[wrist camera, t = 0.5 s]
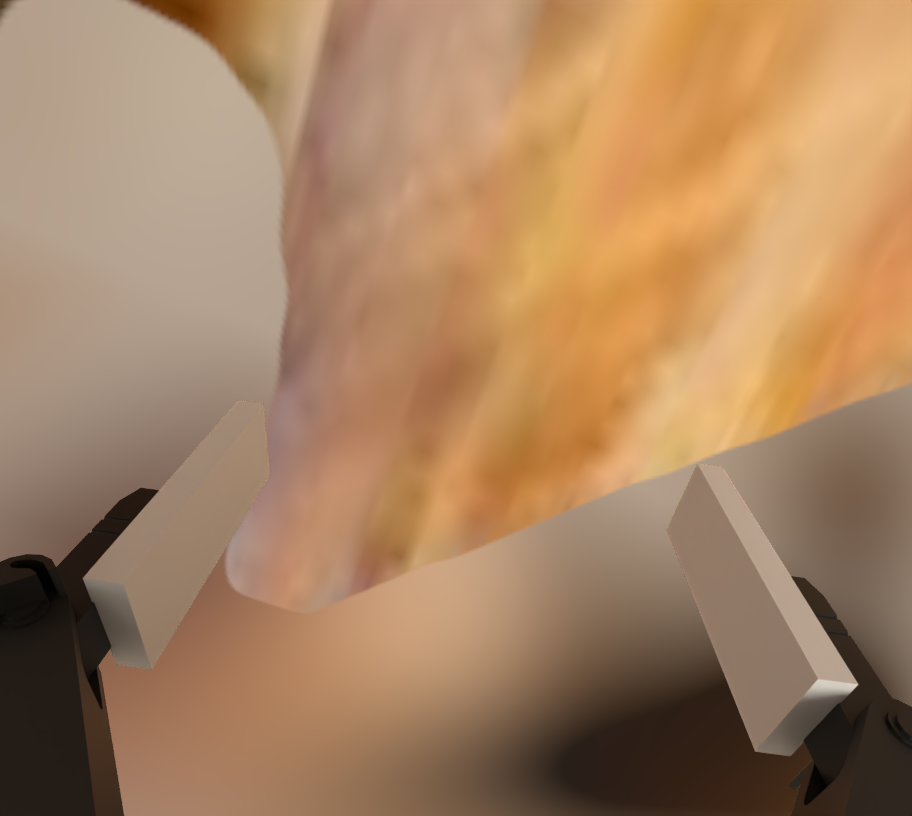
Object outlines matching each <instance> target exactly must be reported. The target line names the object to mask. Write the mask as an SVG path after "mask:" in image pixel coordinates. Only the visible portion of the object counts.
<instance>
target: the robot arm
mask: <svg viewBox="0 0 912 816" xmlns="http://www.w3.org/2000/svg"><path fill="white" fill-rule="evenodd" d="M269 476H270V469H269V458H268V447H267V436H266V425H265V414H264V404H263V403H257V402H249V401H243V400H238V401H237V402H236V403H235V404H234V405H233V406H232V407H231V409H230V410H229V411H228V412H227V413H226V414H225V415H224V417H223V418H222V419H221V420H220V421H219V422H218V424H217V425H216V426H215V427H214V428H213V429H212V431H211V432H210V433H209V434H208V435H207V436H206V437H205V438H204V440H203V441H202V442H201V443H200V444H199V445H198V447H197V448H196V449H195V450H194V451H193V452H192V453H191V454H190V456H189V457H188V458H187V459H186V460H185V461H184V463H183V464H182V465H181V466H180V467H179V468H178V469H177V471H176V472H175V473H174V474H173V475H172V477H171V478H170V479H169V480H168V481H167V482H166V483H165V484H164V486H163V487H162V488H161V489H160V490H153V489H145V488H140V489H138V490H137V491H135V492H133V493H131V494H130V495H128V496H126V497H125V498H123V499H121V500H120V501H119V502H118V503H117V504H116V505H115V506H114V507H113V508H112V509H111V510H110V511H109V512H108V513H107V514H106V515H105V518H104V520H101V521H100V522H99V523H98V524H97V525H96V526H95V527H94V528H93V529H92V532H91V533H88V534H87V535H86V536H85V538H84V539H83V540H82V541H81V542H80V543H79V544H78V545H77V546H76V547H75V548H74V549H73V550H72V551H71V552H70V553H69V555H68V556H67V557H66V558H65V559H64V560H63V561H62V562H61V563H60V564H59V565H58V566H57V567H56V566H55V565H54V563H53V561H52V559H50V558H47V557H45V556H43V555H30V554H26V555H21V556H16V557H11V558H9V559H6V560H4V561H1V562H0V816H124V813H123V806H122V800H121V794H120V788H119V782H118V775H117V769H116V763H115V757H114V750H113V744H112V739H111V732H110V726H109V719H108V713H107V707H106V701H105V695H104V688H103V682H102V676H101V672H100V669H99V667H98V665H99V664H100V662H101V661H102V659H103V658H104V657H105V655H106V654H107V652H108V651H109V650H110V649H111V651H112V654H113V657H114V659H115V662H116V664H118V665H125V666H132V667H139V668H148V669H152V668H153V667H154V665H155V663H156V662H157V660H158V658H159V657H160V655H161V654H162V652H163V650H164V649H165V647H166V645H167V644H168V642H169V640H170V639H171V637H172V635H173V634H174V632H175V630H176V629H177V627H178V626H179V624H180V622H181V620H182V619H183V617H184V616H185V614H186V612H187V611H188V609H189V607H190V606H191V604H192V602H193V601H194V599H195V597H196V596H197V594H198V593H199V591H200V589H201V587H202V586H203V584H204V582H205V581H206V579H207V578H208V576H209V575H210V573H211V571H212V570H213V568H214V566H215V565H216V563H217V561H218V560H219V558H220V557H221V555H222V553H223V552H224V550H225V548H226V547H227V545H228V543H229V542H230V540H231V538H232V537H233V535H234V534H235V532H236V530H237V529H238V527H239V525H240V524H241V522H242V520H243V519H244V517H245V515H246V514H247V512H248V511H249V509H250V507H251V506H252V504H253V502H254V501H255V499H256V497H257V496H258V494H259V492H260V491H261V489H262V488H263V486H264V484H265V483H266V481H267V479H268V478H269ZM667 532H668V535H669V537H670V540H671V542H672V545H673V547H674V550H675V552H676V555H677V557H678V560H679V562H680V565H681V567H682V570H683V572H684V575H685V577H686V580H687V582H688V584H689V587H690V590H691V592H692V595H693V597H694V599H695V602H696V605H697V607H698V610H699V612H700V615H701V617H702V619H703V622H704V624H705V627H706V630H707V632H708V635H709V637H710V640H711V642H712V644H713V647H714V650H715V652H716V655H717V657H718V660H719V662H720V665H721V667H722V670H723V672H724V675H725V677H726V680H727V682H728V685H729V687H730V690H731V692H732V694H733V697H734V699H735V702H736V704H737V707H738V709H739V712H740V714H741V717H742V719H743V722H744V724H745V727H746V729H747V732H748V734H749V737H750V739H751V742H752V744H753V747H754V749H755V751H756V752H764V753H771V754H779V755H786V756H791V755H792V754H793V753H794V752H795V751H796V750H797V749H798V748H799V746H800V745H801V744H802V743H803V742H805V744H806V746H807V748H808V750H809V753H810V755H811V757H812V759H813V760H812V761H811V762H810V763H809V764H808V765H807V766H806V767H805V768H804V769H803V770H802V771H801V772H800V773H799V774H798V775H797V776H796V777H795V778H794V779H793V780H792V781H791V783H790V784H789V786H790V787H792V788H793V789H795V788H796V787H797V786H799V784H801V785H800V788H799V791H798V795H797V798H796V801H795V804H794V808H793V811H792V814H791V816H912V707H910V706H908V705H907V704H905V703H903V702H901V701H899V700H896V699H893V698H891V696H890V695H889V693H888V692H887V690H886V689H885V687H884V686H883V684H882V683H881V681H880V680H879V678H878V677H877V675H876V674H875V672H874V671H873V669H872V668H871V666H870V665H869V663H868V662H867V660H866V659H865V657H864V656H863V654H862V653H861V651H860V650H859V648H858V647H857V645H856V644H855V642H854V641H853V639H852V638H851V636H848V634H847V633H848V632H847V630H846V629H845V627H844V626H843V624H842V623H841V621H840V620H837V615H836V614H835V612H834V611H833V609H832V608H831V606H830V605H829V603H828V602H827V600H826V599H825V597H824V596H823V595H822V594H821V593H820V592H819V591H818V590H817V589H816V588H815V587H813V586H812V585H811V584H810V583H809V582H808V581H807V580H806V579H805V578H800V577H793V576H790V574H789V573H788V571H787V569H786V568H785V566H784V565H783V563H782V561H781V560H780V558H779V557H778V555H777V553H776V552H775V550H774V549H773V547H772V546H771V544H770V542H769V541H768V539H767V537H766V536H765V534H764V533H763V531H762V529H761V528H760V526H759V525H758V523H757V521H756V520H755V518H754V517H753V515H752V513H751V512H750V511H749V509H748V507H747V505H746V504H745V502H744V501H743V499H742V497H741V496H740V494H739V493H738V491H737V489H736V488H735V486H734V485H733V483H732V481H731V480H730V478H729V477H728V475H727V474H726V472H725V470H724V469H723V467H718V466H710V465H703V464H697V466H696V468H695V470H694V472H693V474H692V476H691V479H690V481H689V483H688V485H687V487H686V489H685V491H684V493H683V496H682V498H681V500H680V502H679V505H678V506H677V509H676V511H675V513H674V515H673V517H672V519H671V521H670V523H669V526H668V528H667Z"/></svg>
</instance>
